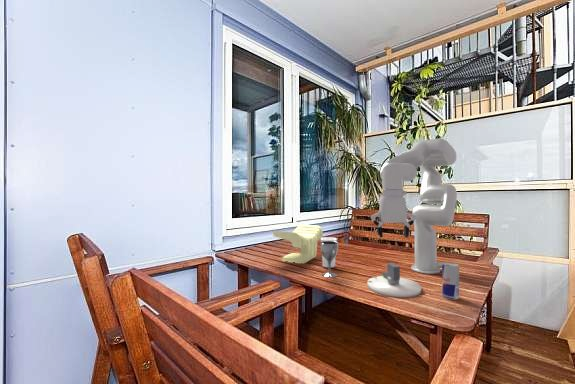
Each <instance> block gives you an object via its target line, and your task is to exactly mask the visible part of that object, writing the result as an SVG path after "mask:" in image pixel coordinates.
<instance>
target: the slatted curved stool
mask: <svg viewBox="0 0 575 384" xmlns="http://www.w3.org/2000/svg"><path fill="white" fill-rule="evenodd" d="M296 226H297V227H296V228H295V229H294V230H293V231H280V230H279V231H278V230H273V231H272V232H273V233H272V234H273V237H274V238H278V239H281V240H286V241H290V243H291V245H292V247H293V248H298V249H300V253H294V252H292V253H289V254H286V255H285V256H282V257H281V258H282V259H281V262H285V261H288V262H287V263H293V262H295V263H294V264H301V263H302V264H306V263H308V262H309V261H311V260H313V259H314V258H316V256H317V250H318V242H319V240H321V238H324V237H323V236H324V235H323V234H324V233H323V231H324V230H323V227H321V226H320V225H314V224H298V225H296Z"/></svg>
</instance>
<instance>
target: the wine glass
mask: <svg viewBox="0 0 575 384" xmlns="http://www.w3.org/2000/svg"><path fill="white" fill-rule="evenodd" d="M338 250H339V242H338V241H337V242H335V241H322V242H321V241H320V252H321V256H322V255H323V256H324V258H325V259H326V260H327V262H328V267H327V268H328V272H323V273H321V276H322V277H325V278H336V277H338V274H337V273H335V272H331V267H330V265H331V261H332V260H333V259H334V257H335V256H337V254H338Z"/></svg>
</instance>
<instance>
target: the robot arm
mask: <svg viewBox="0 0 575 384" xmlns="http://www.w3.org/2000/svg"><path fill="white" fill-rule="evenodd" d="M456 161H457V152H456V150H455V149H454V147H453V145H451V144H450V143H449V142H448V141H447V140H445V139H443V138H441V137H440V138H433V139H424V140H420V141H417V142H416V143H414V145H413V146H412V147H411V148H409V150H408V151H406V152H402V154H399V155H397V156H395V157H392V158H389V159H388V160H387V161H386V162H385V163H384V164H383V165H382V166H381V168H380V172H379V173H380V178H381V179H382V197H380V200H379V208H378V209H379V210H378V212H376V213H374V214H372V215H371V216H370V219H371V221H372V222H373V224H374V225H376V226H377V235H378V237H379V238H383V227H382V226H383V225H384V224H385V223H386V224H387V223H390V224H392V223H395V224H399V223H400V224H401V223H402V224H403V225H404V226H403V237H404V238H409V235H410V228H411V226H412V225H413V227H414V228H413V229H414V264H412V265H411V266H410V268H411V270H412V271H414V272H417V273H421V274H426V275H427V274H428V275H430V274H432V275H433V274H440V273H441V269H442V265H443V263H444V262H439V261H437V259H438V258H437V257H438V256H437V252H438V251H437V243H438V242H437V231H436V230H435V228H434V227H433V226H439V227H441V226H442V227H449V226H450V225H452V224H453V222H454V217H455V211H456V206H457V198H458V193H457V189H456V187H455V185H453V184H447V183H445V184H444V183H442V178H443V177H442V175H441V173H440V172H439V171H438V170H437V169H436V168H435V167H441V166H443V167H444V166H452V165H454V164H455V163H456ZM417 168H420V171H421V174H422V181H421V185H420V190H419V201H420V202H422V203H423V204H417V205H415V206H414V207H413V208H412V212H411V213H410V212H408V210H407V209H408V208H407V201H406V198H405V197H404V196H405V195H407V194H408V191H407V190H404V183H405V182H411V181H414V179H416V178H417V176H418V175H417V174H418V170H417ZM408 217H409V218H410V220H409V221H408ZM376 218H378V220H379V221H377V220H376Z"/></svg>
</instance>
